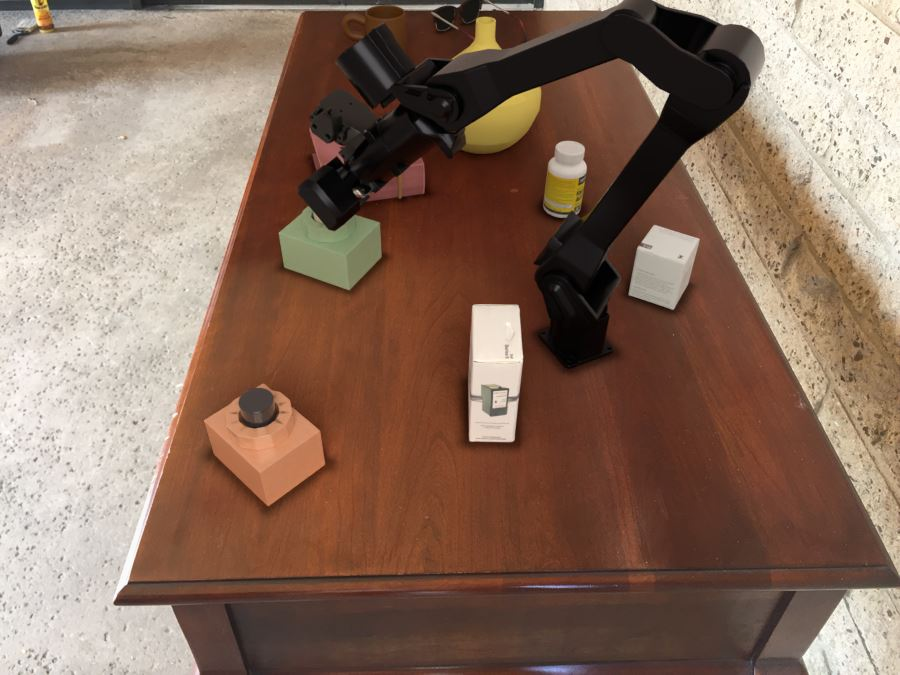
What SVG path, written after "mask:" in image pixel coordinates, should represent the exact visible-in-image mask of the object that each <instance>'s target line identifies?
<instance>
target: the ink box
mask: <svg viewBox="0 0 900 675" xmlns="http://www.w3.org/2000/svg"><path fill="white" fill-rule="evenodd" d="M469 334H470V336H469V352H468V353H469V355H468V358H469V359H468V374H467V376H468V377H467V391H468V392H467V394H468V395H467V398H468V403H467V404H468V441H469V442H471V443H472V442H473V443H474V442H481V443H483V442H484V443H513V442H514V441H515V440H516V439H515V438H516V427H517V418H518V409H519V400H520V390H521V383H522V375H523V374H522V372H523V364H524V352H523V340H522V326H521V309H520V306H519V304H496V303H495V304H494V303H493V304H492V303H489V304H487V303H485V304H484V303H483V304H478V303H477V304H473V305H472V306H471V320H470V333H469Z"/></svg>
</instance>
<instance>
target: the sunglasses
mask: <svg viewBox="0 0 900 675" xmlns="http://www.w3.org/2000/svg"><path fill="white" fill-rule="evenodd" d="M484 2H486V3H487V4H490V5H491V6H493V7H494V8H497V9H498V10H500V11H502V12H503V13H505V14H507V15H509V16H510V17H512V18H513V19H515V20H517V22H518V23H519V24H520V27H521V30H522V33H523V36H524V40H525V41H524V42H525V43H526V42H528V41H529V38H528V35H527V32H526V29H525V28H526V27H525V26H524V23H523V21H522V20H521V19H520V18H519V17H518V16H516V15H514V14H512V13H511V12H509V11H508V10H505V9H504V8H502V7H500V6H498V5H496V4H494V3H493V2H491V1H490V0H465V1H463V2H462V3H461V4H460V5H459V6H457V7H456V6H455V5H448V4H447V5H442V6H440V7H437V8H435V9H433V10H432V11H431V16H432V19H433V23H434V24H435V28H436V30H437V31H440V32H444V31H447V30H449V29H450V28H451V27H452V28H454V29H456V30H457V31H458V32H460V33H461V34H463V35H464V36H467V37H468V38H470V39H471V41H472V42H474V40H475V36H472V35H471V34H469V32H467V31H465V30H463V29H461V28H459V27H457V26H456V25H454V22H455V21H456V20H457V19H456V18H457V16H458V14H459V16H460V18H461V20H462V21H463V23H464V24H471V23H473V22H475V21H476V19H477V18H479V14H480V11H482V8H483V3H484Z"/></svg>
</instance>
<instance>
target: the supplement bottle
mask: <svg viewBox="0 0 900 675" xmlns="http://www.w3.org/2000/svg"><path fill="white" fill-rule="evenodd" d="M585 151H586V148H585V145H583V144H582V143H580V142H578V141H575V140H563V141H560V142H557V144H556V145H555V148H554V156H553V157H551V158H550V160H549V161H548V164H547V170H546V178H545V186H544V195H543V202H542V207H543V210H544V211H545V212H546V213H547V214H548V215H550V216H552V217H555V218H560V219H566V217H567V216H568V214H569V213H570V212H571V211H573V212H574V213H575V214H576V215H579V213H580V211H581V208H582V202H583V196H584V192H585V191H584V189H585V183H586V179H587V171H588V165H587V163H586V162H585V160H584V158H585Z"/></svg>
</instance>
